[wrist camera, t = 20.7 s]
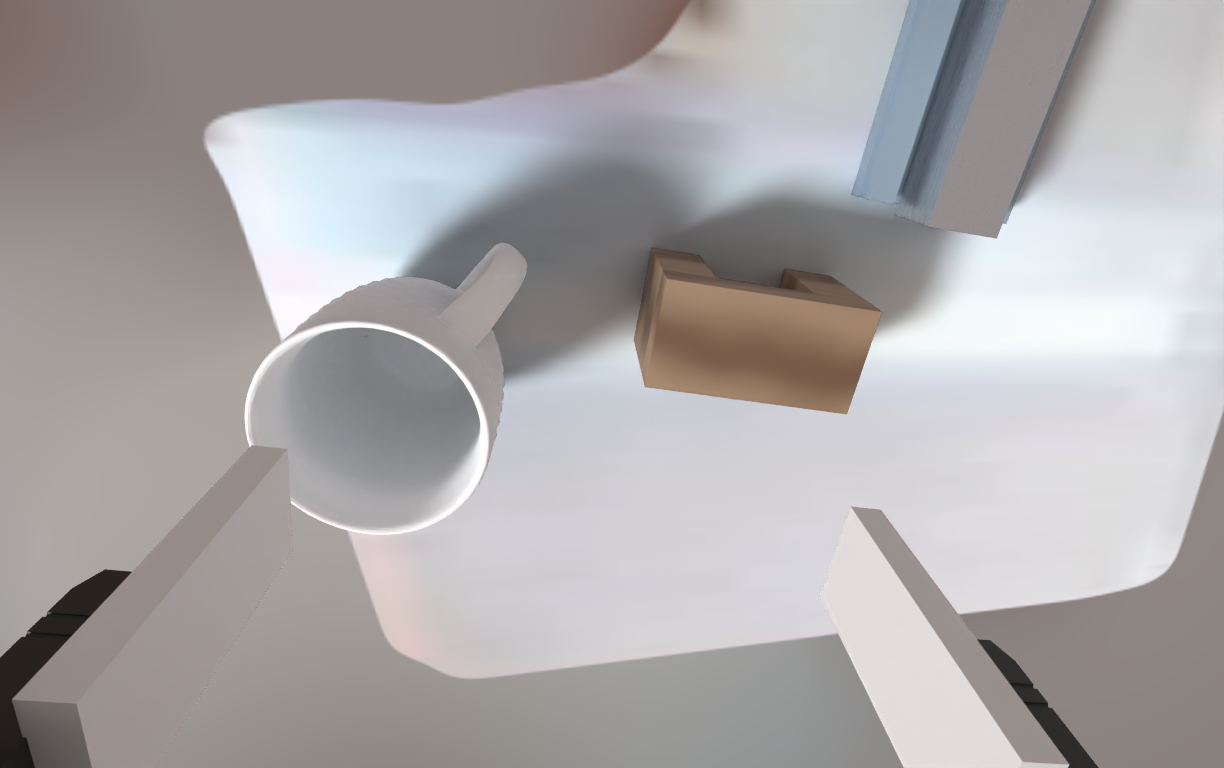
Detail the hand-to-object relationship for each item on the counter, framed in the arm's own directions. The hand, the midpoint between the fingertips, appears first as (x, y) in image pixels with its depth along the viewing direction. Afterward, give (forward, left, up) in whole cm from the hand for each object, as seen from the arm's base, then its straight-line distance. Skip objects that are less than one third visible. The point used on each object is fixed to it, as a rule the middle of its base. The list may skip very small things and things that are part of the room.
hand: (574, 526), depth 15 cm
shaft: (-14, +20, -26) cm, 35 cm away
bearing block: (+1, +10, -27) cm, 29 cm away
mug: (+5, -8, -27) cm, 29 cm away
